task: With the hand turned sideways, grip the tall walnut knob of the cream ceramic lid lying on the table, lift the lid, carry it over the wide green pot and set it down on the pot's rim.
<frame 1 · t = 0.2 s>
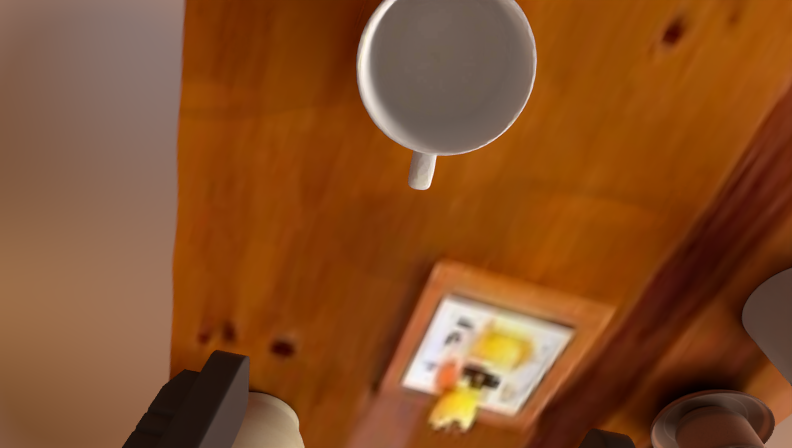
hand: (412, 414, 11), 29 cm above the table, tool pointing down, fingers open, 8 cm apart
planter bowl: (261, 415, 57), on the table
cup and saucer: (701, 415, 51), on the table
teacup: (436, 71, 35), on the table
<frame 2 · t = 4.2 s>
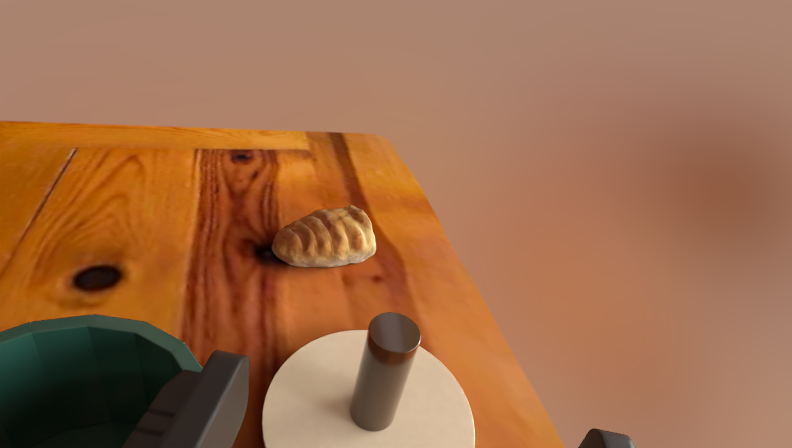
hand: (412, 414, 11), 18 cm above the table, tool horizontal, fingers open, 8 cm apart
lid: (370, 414, 30), point 1 cm above the table
pastry: (327, 251, 44), on the table
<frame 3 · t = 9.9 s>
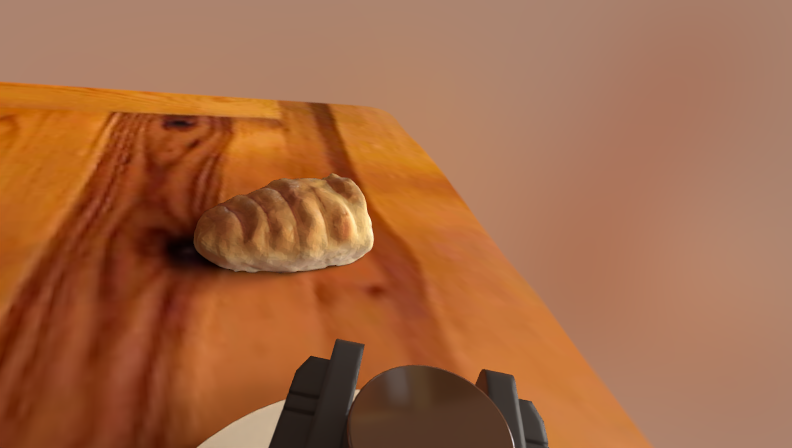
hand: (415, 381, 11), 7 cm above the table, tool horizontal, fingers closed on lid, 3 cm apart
pastry: (294, 247, 27), on the table
when the fingers open (14 cm above the table, at t = 15.8 s): lid stays where it is, resting on green pot.
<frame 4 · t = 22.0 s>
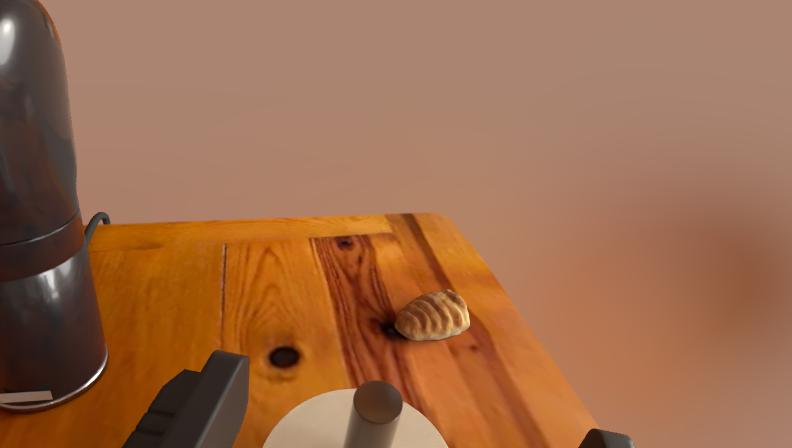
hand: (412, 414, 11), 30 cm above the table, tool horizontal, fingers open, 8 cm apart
pastry: (432, 325, 58), on the table
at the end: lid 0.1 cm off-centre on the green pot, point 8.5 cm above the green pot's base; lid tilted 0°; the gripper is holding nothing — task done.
